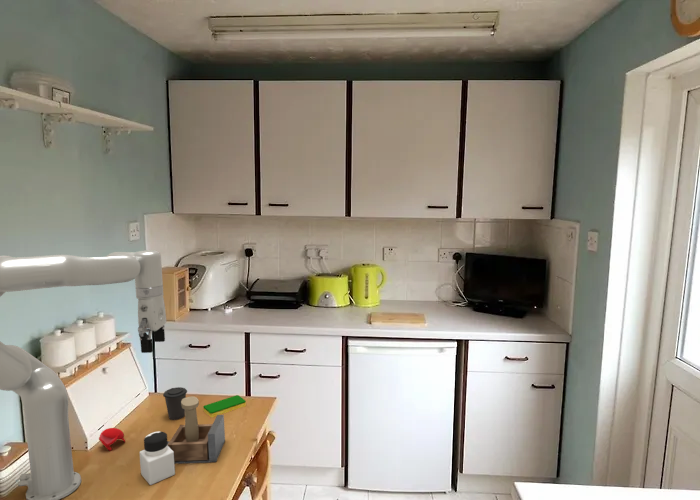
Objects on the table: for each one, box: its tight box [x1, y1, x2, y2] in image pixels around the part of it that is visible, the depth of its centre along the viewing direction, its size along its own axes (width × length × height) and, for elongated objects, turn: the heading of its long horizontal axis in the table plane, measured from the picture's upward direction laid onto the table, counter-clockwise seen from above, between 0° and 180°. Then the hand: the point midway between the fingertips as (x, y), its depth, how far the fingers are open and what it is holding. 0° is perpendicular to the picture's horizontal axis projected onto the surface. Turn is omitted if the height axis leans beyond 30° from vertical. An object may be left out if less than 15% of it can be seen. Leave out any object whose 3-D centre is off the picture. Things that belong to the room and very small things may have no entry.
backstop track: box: [167, 414, 226, 465], centre depth 140 cm, size 21×12×9 cm, turn 92°
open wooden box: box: [168, 423, 213, 461], centre depth 140 cm, size 11×11×5 cm
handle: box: [181, 395, 200, 442], centre depth 139 cm, size 5×6×15 cm
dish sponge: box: [202, 394, 247, 418], centre depth 169 cm, size 7×14×2 cm, turn 130°
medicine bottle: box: [139, 430, 176, 486], centre depth 129 cm, size 7×7×12 cm
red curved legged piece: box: [98, 427, 126, 452], centre depth 144 cm, size 8×6×6 cm
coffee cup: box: [162, 386, 188, 421], centre depth 163 cm, size 8×8×10 cm
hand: (153, 346), depth 138 cm, fingers open, 9 cm apart
